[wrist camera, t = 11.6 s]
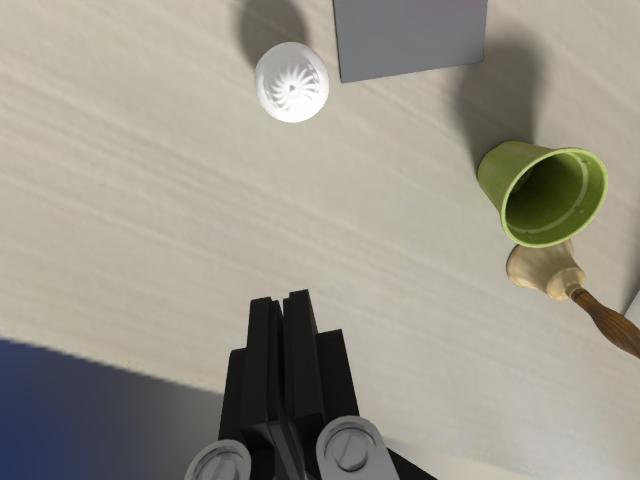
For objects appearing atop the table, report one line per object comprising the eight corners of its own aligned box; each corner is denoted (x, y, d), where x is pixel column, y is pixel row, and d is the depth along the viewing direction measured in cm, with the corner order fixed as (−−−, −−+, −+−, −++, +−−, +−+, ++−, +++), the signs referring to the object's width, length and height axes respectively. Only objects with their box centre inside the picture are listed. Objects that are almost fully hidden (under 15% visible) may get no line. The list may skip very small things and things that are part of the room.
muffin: (247, 99, 35) (241, 116, 29) (267, 28, 32) (265, 29, 26) (311, 123, 36) (317, 143, 30) (335, 56, 34) (347, 64, 28)
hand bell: (550, 217, 44) (672, 306, 31) (584, 254, 48) (708, 349, 34) (493, 264, 47) (581, 365, 33) (528, 296, 50) (623, 400, 36)
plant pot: (450, 205, 42) (487, 245, 35) (476, 119, 38) (525, 144, 30) (527, 210, 43) (579, 250, 36) (561, 127, 39) (629, 153, 31)
